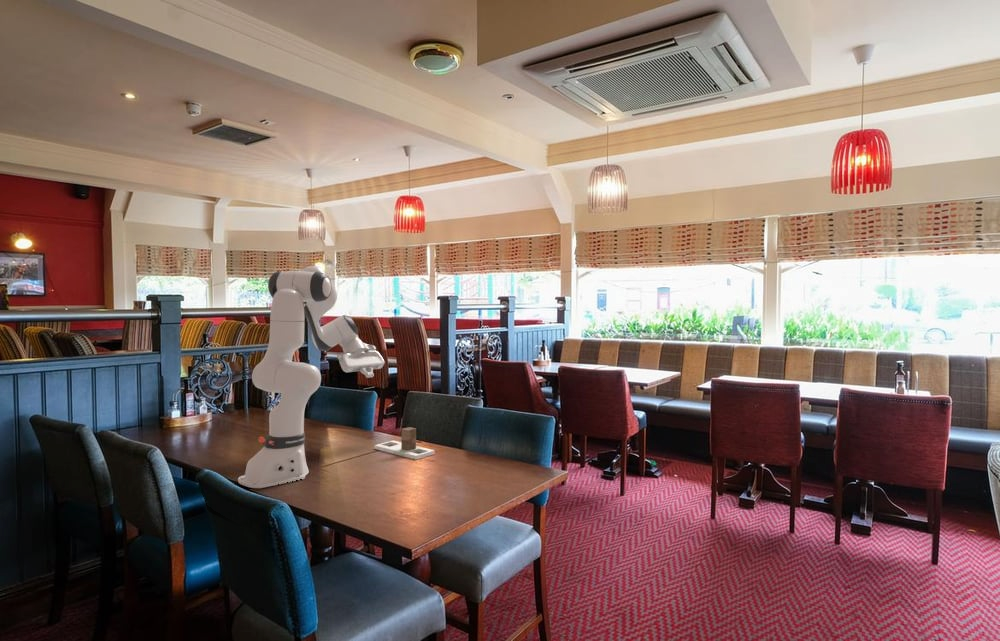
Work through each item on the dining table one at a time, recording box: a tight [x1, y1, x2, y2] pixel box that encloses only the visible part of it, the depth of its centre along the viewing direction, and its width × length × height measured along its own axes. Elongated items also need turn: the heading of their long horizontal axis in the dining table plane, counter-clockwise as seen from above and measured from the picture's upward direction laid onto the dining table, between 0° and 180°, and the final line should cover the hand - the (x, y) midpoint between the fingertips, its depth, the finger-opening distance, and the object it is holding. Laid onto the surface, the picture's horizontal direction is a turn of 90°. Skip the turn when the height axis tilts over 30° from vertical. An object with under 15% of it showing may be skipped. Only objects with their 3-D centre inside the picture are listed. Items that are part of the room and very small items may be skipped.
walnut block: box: [400, 426, 417, 451], centre depth 220 cm, size 4×4×8 cm
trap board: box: [373, 439, 436, 461], centre depth 222 cm, size 10×24×2 cm, turn 52°
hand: (370, 376), depth 233 cm, fingers closed
